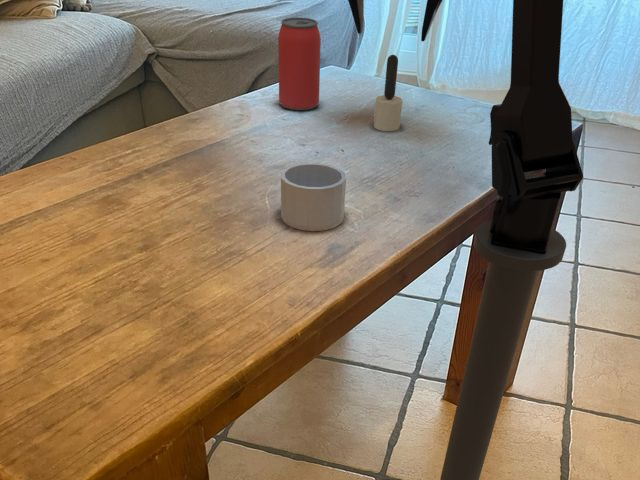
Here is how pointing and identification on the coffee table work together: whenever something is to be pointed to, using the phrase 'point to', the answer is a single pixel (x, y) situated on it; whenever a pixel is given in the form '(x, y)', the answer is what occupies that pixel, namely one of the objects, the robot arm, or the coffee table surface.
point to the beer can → (299, 63)
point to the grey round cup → (312, 196)
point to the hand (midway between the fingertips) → (391, 36)
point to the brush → (388, 100)
